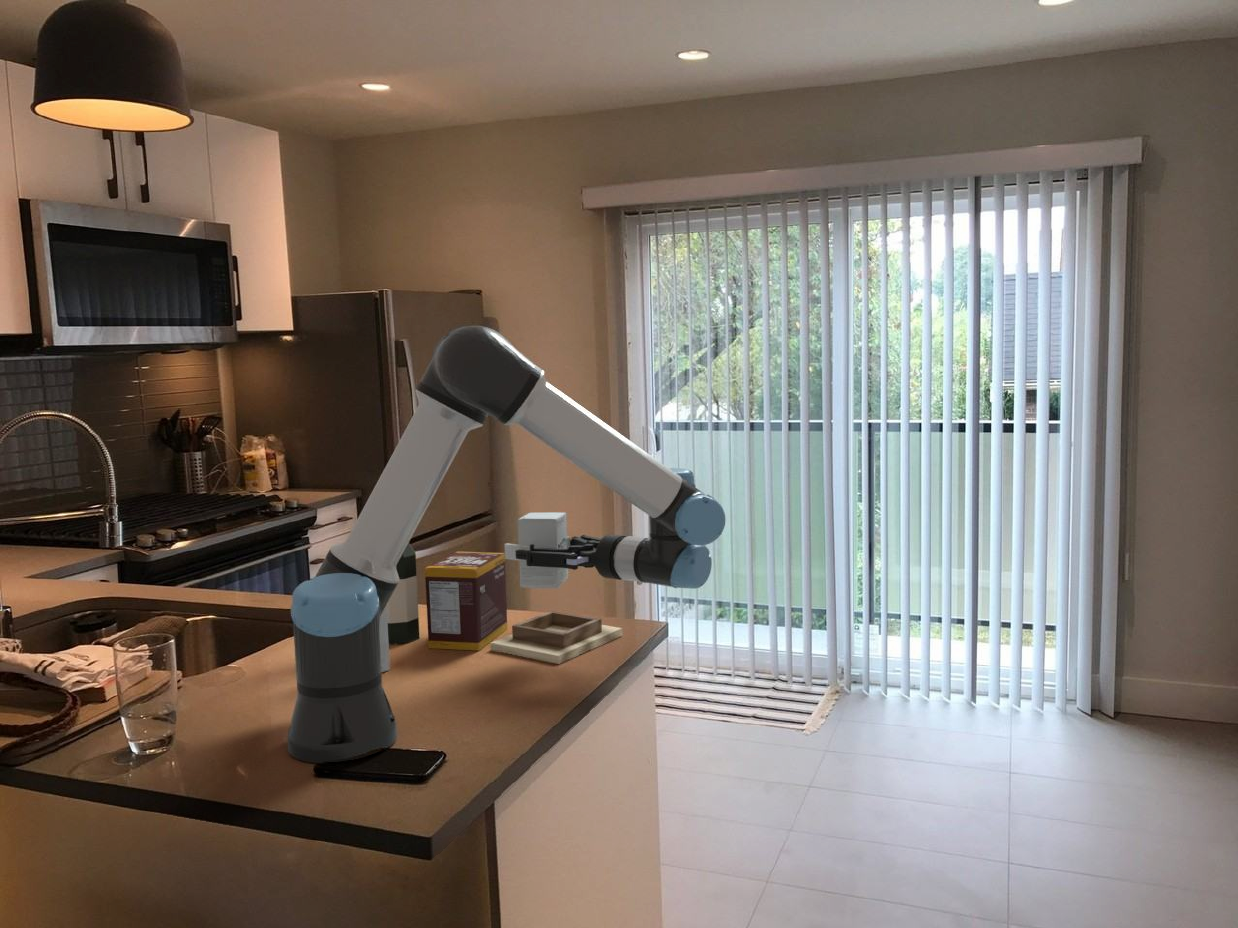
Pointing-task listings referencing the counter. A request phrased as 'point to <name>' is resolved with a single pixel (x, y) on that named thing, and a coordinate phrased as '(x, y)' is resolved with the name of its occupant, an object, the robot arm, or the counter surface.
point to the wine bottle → (404, 602)
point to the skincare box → (384, 641)
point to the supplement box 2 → (543, 534)
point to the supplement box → (466, 600)
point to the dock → (556, 637)
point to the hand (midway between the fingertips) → (524, 546)
